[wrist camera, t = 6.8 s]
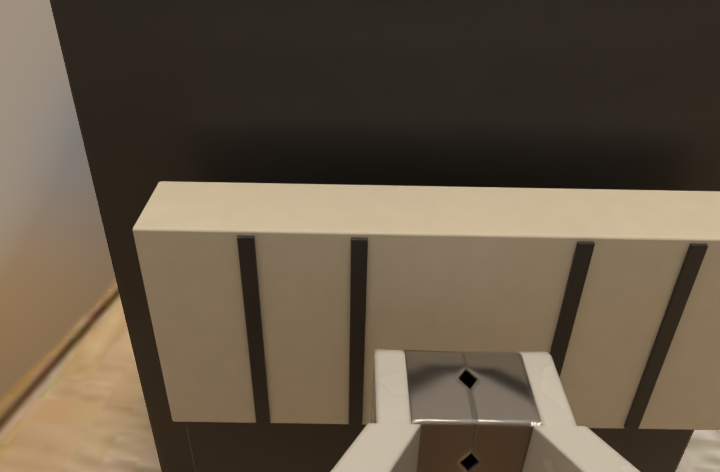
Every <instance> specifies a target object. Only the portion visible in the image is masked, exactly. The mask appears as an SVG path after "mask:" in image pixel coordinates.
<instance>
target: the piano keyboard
mask: <svg viewBox="0 0 720 472" xmlns="http://www.w3.org/2000/svg"><path fill="white" fill-rule="evenodd" d="M133 235H134V239H135V244H136V249H137V254H138V258H139V263H140V268H141V273H142V278H143V282H144V287H145V292H146V297H147V301H148V306H149V311H150V316H151V321H152V325H153V330H154V335H155V340H156V344H157V349H158V354H159V359H160V364H161V368H162V373H163V378H164V383H165V387H166V392H167V397H168V402H169V407H170V411H171V416H172V420H173V421H174V422H238V423H302V424H351V425H362V424H366V425H367V424H368V423H371V412H372V384H373V363H374V351H375V349H383V350H403V351H404V350H425V351H452V352H517V353H518V352H548V353H549V354H550V355H551V356H552V359H553V362H554V365H555V367H556V370H557V373H558V375H559V378H560V381H561V383H562V386H563V389H564V392H565V394H566V397H567V400H568V402H569V405H570V408H571V411H572V413H573V416H574V419H575V421H576V424H577V426H586V427H588V428H624V429H688V430H719V429H720V191H666V190H611V189H556V188H501V187H446V186H391V185H336V184H281V183H226V182H171V181H161V182H159V183H158V185H157V186H156V188H155V190H154V192H153V193H152V195H151V197H150V199H149V201H148V202H147V204H146V206H145V208H144V209H143V211H142V213H141V215H140V216H139V218H138V220H137V222H136V223H135V225H134V227H133Z"/></svg>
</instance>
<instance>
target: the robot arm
mask: <svg viewBox="0 0 720 472" xmlns="http://www.w3.org/2000/svg"><path fill="white" fill-rule="evenodd" d="M331 472H640V471H639V470H638V469H637V468H636V467H634V466H633V465H632V464H631V463H630V462H628V461H627V460H626V459H625V458H624V457H622V456H621V455H620V454H619V453H618V452H616V451H615V450H614V449H613V448H612V447H610V446H609V445H608V444H607V443H606V442H604V441H603V440H602V439H601V438H600V437H598V436H597V435H596V434H595V433H594V432H592V431H591V430H590V429H589V428H588V427H586V426H577V424H576V421H575V419H574V416H573V413H572V411H571V408H570V405H569V402H568V400H567V397H566V394H565V392H564V389H563V386H562V383H561V381H560V378H559V375H558V373H557V370H556V367H555V365H554V362H553V359H552V356H551V355H550V354H549V353H548V352H518V353H517V352H452V351H425V350H404V351H403V350H383V349H375V351H374V363H373V384H372V412H371V423H368V424H367V425H366V426H365V428H364V429H363V430H362V432H361V433H360V434H359V435H358V437H357V438H356V439H355V441H354V442H353V443H352V444H351V446H350V447H349V448H348V450H347V451H346V452H345V453H344V455H343V456H342V457H341V459H340V460H339V461H338V463H337V464H336V465H335V466H334V468H333V469H332V470H331Z"/></svg>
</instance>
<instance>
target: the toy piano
mask: <svg viewBox="0 0 720 472" xmlns="http://www.w3.org/2000/svg"><path fill="white" fill-rule="evenodd" d="M50 3H51V8H52V12H53V16H54V20H55V24H56V29H57V33H58V37H59V41H60V45H61V49H62V54H63V57H64V62H65V66H66V70H67V74H68V79H69V83H70V87H71V92H72V96H73V100H74V104H75V108H76V112H77V117H78V121H79V125H80V129H81V134H82V138H83V142H84V146H85V150H86V155H87V159H88V163H89V167H90V171H91V175H92V180H93V184H94V188H95V193H96V196H97V201H98V205H99V209H100V214H101V218H102V222H103V226H104V230H105V235H106V238H107V243H108V247H109V251H110V256H111V259H112V264H113V268H114V272H115V277H116V281H117V285H118V289H119V293H120V298H121V302H122V306H123V310H124V314H125V319H126V323H127V327H128V331H129V335H130V340H131V344H132V348H133V352H134V356H135V361H136V365H137V369H138V373H139V377H140V382H141V386H142V390H143V394H144V398H145V403H146V407H147V411H148V415H149V419H150V424H151V428H152V432H153V436H154V440H155V445H156V449H157V453H158V457H159V462H160V466H161V470H162V472H331V470H332V469H333V468H334V466H335V465H336V464H337V463H338V461H339V460H340V459H341V457H342V456H343V455H344V453H345V452H346V451H347V450H348V448H349V447H350V446H351V444H352V443H353V442H354V441H355V439H356V438H357V437H358V435H359V434H360V433H361V432H362V430H363V429H364V428H365V426H366V424H362V425H351V424H302V423H238V422H174V421H173V420H172V416H171V411H170V407H169V402H168V397H167V392H166V387H165V383H164V378H163V373H162V368H161V364H160V359H159V354H158V349H157V344H156V340H155V335H154V330H153V325H152V321H151V316H150V311H149V306H148V301H147V297H146V292H145V287H144V282H143V278H142V273H141V268H140V263H139V258H138V254H137V249H136V244H135V239H134V235H133V227H134V225H135V223H136V222H137V220H138V218H139V216H140V215H141V213H142V211H143V209H144V208H145V206H146V204H147V202H148V201H149V199H150V197H151V195H152V193H153V192H154V190H155V188H156V186H157V185H158V183H159V182H161V181H171V182H226V183H281V184H336V185H391V186H446V187H501V188H556V189H611V190H666V191H720V0H50ZM589 429H590V430H591V431H592V432H594V433H595V434H596V435H597V436H598V437H600V438H601V439H602V440H603V441H604V442H606V443H607V444H608V445H609V446H610V447H612V448H613V449H614V450H615V451H616V452H618V453H619V454H620V455H621V456H622V457H624V458H625V459H626V460H627V461H628V462H630V463H631V464H632V465H633V466H634V467H636V468H637V469H638V470H639V471H640V472H675V471H676V469H677V467H678V465H679V462H680V460H681V458H682V456H683V454H684V451H685V449H686V447H687V445H688V442H689V440H690V438H691V436H692V434H693V431H694V430H688V429H624V428H589Z"/></svg>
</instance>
